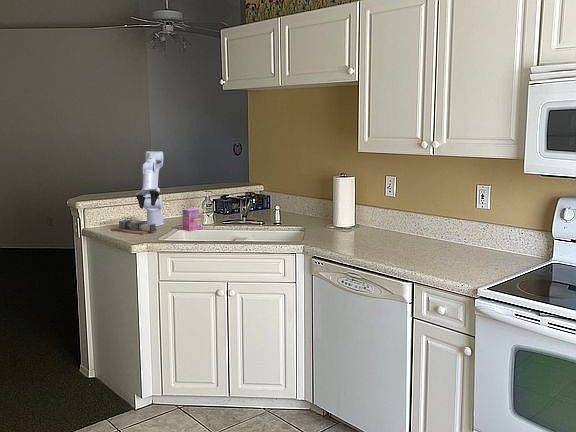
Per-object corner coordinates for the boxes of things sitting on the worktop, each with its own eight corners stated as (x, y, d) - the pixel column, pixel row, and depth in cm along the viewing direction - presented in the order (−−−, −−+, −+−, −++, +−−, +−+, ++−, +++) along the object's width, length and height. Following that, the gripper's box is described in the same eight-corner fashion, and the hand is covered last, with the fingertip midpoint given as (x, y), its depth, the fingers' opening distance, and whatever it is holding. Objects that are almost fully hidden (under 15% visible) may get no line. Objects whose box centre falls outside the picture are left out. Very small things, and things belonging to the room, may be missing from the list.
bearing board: (125, 226, 330) (125, 218, 329) (156, 230, 321) (156, 222, 320) (110, 230, 320) (110, 221, 319) (142, 234, 310) (142, 225, 309)
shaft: (127, 226, 324) (127, 220, 324) (155, 230, 316) (155, 224, 315) (122, 228, 321) (122, 221, 320) (151, 231, 312) (151, 225, 312)
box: (189, 231, 321) (189, 210, 319) (182, 230, 325) (182, 209, 323) (203, 228, 330) (203, 208, 328) (196, 227, 333) (195, 207, 331)
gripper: (132, 183, 314) (131, 207, 309) (154, 177, 308) (153, 201, 303) (141, 188, 320) (140, 211, 315) (162, 182, 314) (161, 205, 309)
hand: (147, 206), depth 309 cm, fingers open, 7 cm apart
